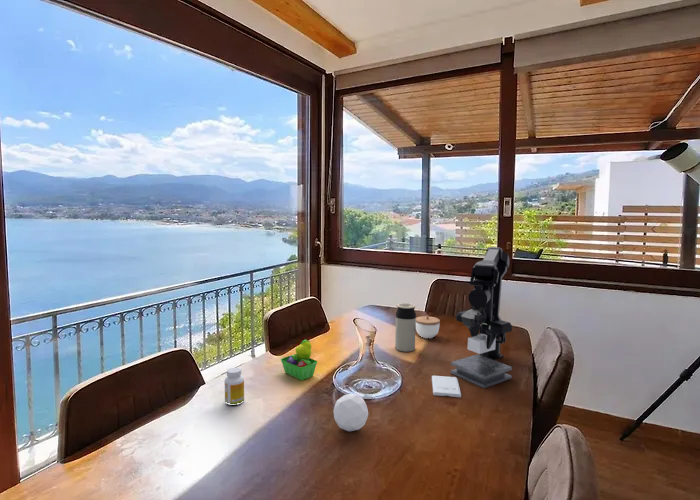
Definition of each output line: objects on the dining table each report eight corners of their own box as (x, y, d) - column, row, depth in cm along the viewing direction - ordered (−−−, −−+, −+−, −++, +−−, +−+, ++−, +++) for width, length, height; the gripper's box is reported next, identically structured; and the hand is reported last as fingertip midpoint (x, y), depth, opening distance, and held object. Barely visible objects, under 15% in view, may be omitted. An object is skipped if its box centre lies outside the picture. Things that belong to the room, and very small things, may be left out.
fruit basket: (279, 373, 137) (279, 341, 136) (299, 366, 143) (299, 335, 142) (301, 383, 129) (301, 349, 128) (321, 375, 136) (321, 342, 135)
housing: (467, 349, 135) (468, 335, 135) (483, 345, 139) (483, 331, 139) (479, 354, 131) (480, 339, 130) (495, 349, 135) (495, 335, 135)
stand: (477, 364, 146) (477, 354, 145) (511, 378, 134) (511, 366, 134) (450, 373, 138) (450, 361, 138) (484, 388, 126) (484, 376, 126)
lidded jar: (442, 335, 180) (443, 314, 179) (434, 341, 171) (434, 320, 170) (420, 331, 186) (420, 311, 185) (410, 337, 177) (411, 316, 176)
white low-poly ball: (369, 434, 97) (375, 415, 108) (359, 396, 97) (366, 382, 109) (335, 441, 98) (345, 422, 110) (325, 404, 99) (336, 389, 111)
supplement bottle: (248, 399, 118) (247, 367, 117) (237, 408, 113) (236, 374, 112) (232, 396, 119) (231, 365, 118) (221, 405, 114) (220, 372, 113)
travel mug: (392, 350, 160) (393, 306, 158) (398, 344, 167) (399, 302, 165) (412, 353, 157) (413, 308, 155) (416, 346, 164) (418, 303, 163)
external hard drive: (457, 381, 133) (461, 399, 120) (431, 380, 134) (433, 396, 122) (457, 377, 132) (461, 393, 120) (431, 375, 134) (433, 391, 122)
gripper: (445, 298, 137) (444, 342, 139) (491, 310, 121) (489, 360, 123) (467, 294, 143) (466, 337, 145) (514, 305, 127) (511, 353, 129)
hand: (481, 346), depth 135 cm, fingers closed on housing, 5 cm apart
